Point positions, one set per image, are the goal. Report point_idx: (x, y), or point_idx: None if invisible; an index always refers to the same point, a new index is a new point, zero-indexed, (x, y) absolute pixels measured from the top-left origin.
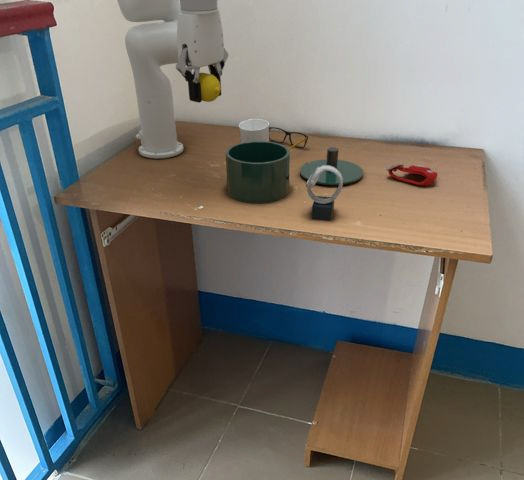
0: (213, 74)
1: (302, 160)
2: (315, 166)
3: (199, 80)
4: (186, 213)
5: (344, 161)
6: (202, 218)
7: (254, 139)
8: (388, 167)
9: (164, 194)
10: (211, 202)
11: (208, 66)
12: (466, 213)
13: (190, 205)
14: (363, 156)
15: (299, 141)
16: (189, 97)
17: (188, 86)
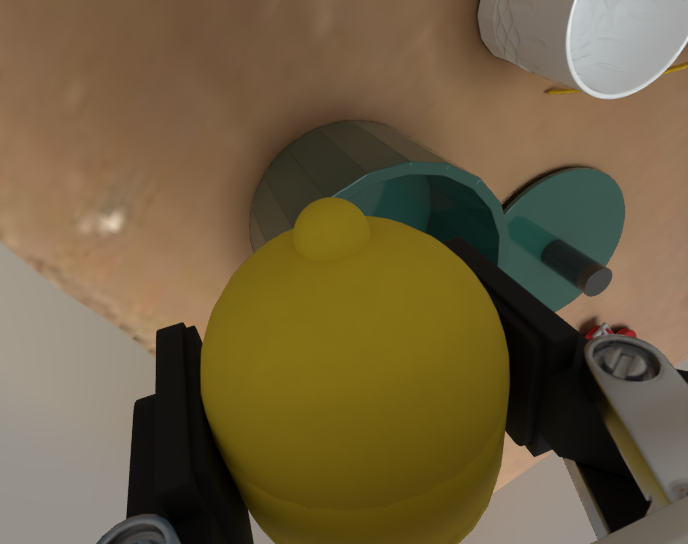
0: (554, 420)
1: (600, 113)
2: (559, 206)
3: (286, 540)
4: (35, 235)
5: (619, 223)
6: (77, 293)
7: (548, 70)
8: (605, 331)
9: (4, 7)
10: (167, 209)
11: (634, 449)
12: (512, 465)
13: (80, 186)
14: (680, 200)
15: (682, 68)
16: (157, 343)
17: (156, 433)
